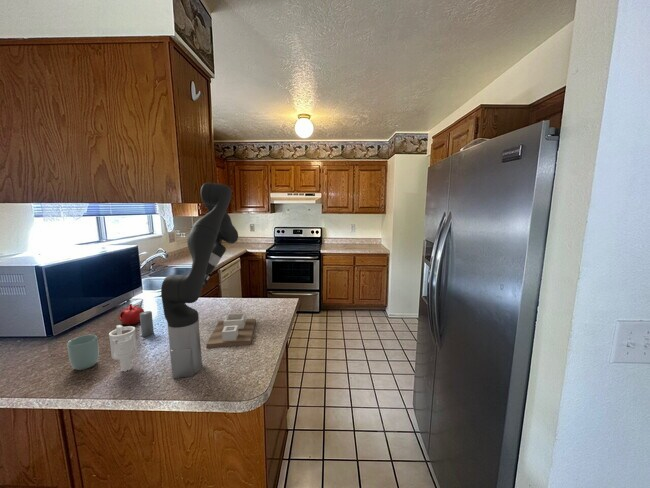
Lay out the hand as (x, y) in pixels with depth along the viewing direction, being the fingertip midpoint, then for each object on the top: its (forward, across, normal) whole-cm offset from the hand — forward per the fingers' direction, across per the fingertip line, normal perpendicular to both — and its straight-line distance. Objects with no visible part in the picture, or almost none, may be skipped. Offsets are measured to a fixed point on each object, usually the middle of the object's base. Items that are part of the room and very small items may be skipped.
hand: (190, 291), depth 128 cm
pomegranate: (+25, -20, -5) cm, 33 cm away
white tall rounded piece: (+29, +24, -17) cm, 41 cm away
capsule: (+23, +1, -6) cm, 24 cm away
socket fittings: (+5, +28, +12) cm, 31 cm away
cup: (+36, +11, -23) cm, 44 cm away
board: (+6, +28, +13) cm, 31 cm away
